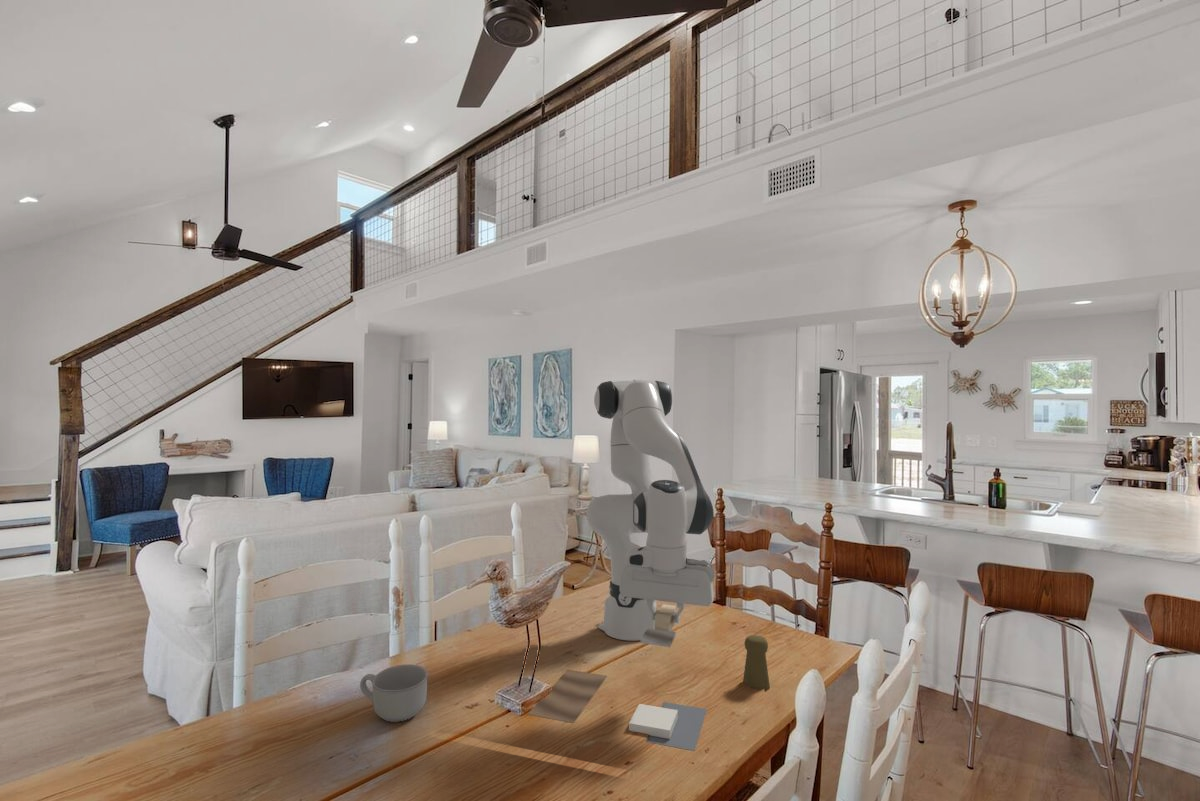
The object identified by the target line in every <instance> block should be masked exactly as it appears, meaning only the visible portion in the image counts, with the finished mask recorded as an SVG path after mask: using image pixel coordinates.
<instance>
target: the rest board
mask: <svg viewBox="0 0 1200 801" xmlns="http://www.w3.org/2000/svg"><path fill="white" fill-rule="evenodd" d="M607 677H608V675H603V674H598V673H592V672H585V671H580V670H573V669H567V670H565V671H564V673H563V674H562V675H561V676H560V677H559V678H558V680H557V681H556V682H555V683H554V684H553V685H552V686H551V687H552V690H551V693H550V694H549V695H547V696H546V697H545V698H543V699H542V698H541V699H540V700H538V702H537V703H536V704H535V705H534V707H532V709H531V710H530V711H529V712H527V715H528V716H534V717H539V718H544V719H545V718H546V719H549V720H553V721H554V720H555V721H559V722H560V721H561V722H566V723H571V724H574V723H575V722H576V721H577V719H578V718H579V716H580V715H581V714H582V713H583V711H584V709H585V708H586V707H587V706H588V704H589V702H590V701H591V700H592V698H593V697H594V696H595V694H596V693H597V691H598V690H599V689H600V687H601V686H602V684H603V683H604V681H605V680H606V678H607Z"/></svg>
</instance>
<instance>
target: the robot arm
mask: <svg viewBox="0 0 1200 801" xmlns="http://www.w3.org/2000/svg"><path fill="white" fill-rule="evenodd" d="M593 399H594V400H593V401H594V402H593V404H594V406H595V407H594V408H595V409H596V412H597V414H598V415H599V416H600V417H601V418H603V419H608V420H612V421H611V429H610V471H611V473H612V474H613V476H614V477H615V478H616V479H617V480H619V481H621V482H623V483H625V484H627V485H628V486H629V487H630V490H631V493H630V494H628V493H627V494H625V493H624V494H623V493H622V494H605V495H600V496H596V497H593V498H592V499H591V500H590V501H589V503H588V505H587V508H586V513H585V514H586V515H585V516H586V520H587V523H588V526H589V527H590V529H591V530H592V531H593V532H594V533H596V534H597V535H598V536H600V538H601V539H602V540H603V541H604V543H605V545H606V546H607V549H608V551H609V555H610V556H609V557H610V569H611V570H610V571H611V573H610V574H611V577H610V578H611V580H609V596H608V597H607V598H606V599H605V600H604V606H603V607H604V610H603V621H602V622H601V621H600V623H599V624H598V629H599V630H600V631H603V632H604V633H605V634H606V635H607V636H609V637H611V638H613V639H617V640H621V641H641V638H642V636H643V635H644V633H645V632H646V630H647V629H648V628H649V629H655V615H656V614H657V612H658V611H659V610H658V609H657V601H659V602H665V603H666V602H667V603H675V604H676V609H678V610H677V611H676V612H673V614H672V623H675V624H680V623H681V622H680V621H681V613H682V611H684V609H685V606H686V605H690V606H691V605H692V606H701V607H710V606H711V604H713V602H714V600H715V599H714V598H715V595H714V594H715V593H714V583H713V582H714V580H715V577H716V569H715V567H714V565H713V564H711V563H710V562H709V561H708V560H704V559H703V560H700V559H695V558H694V559H692V558H688V540H687V537H686V534H689V535H699V536H700V535H702V534H703V533H704V532H706V531H707V529H709V528H710V527H711V525H712V524H713V522H714V515H715V514H714V506H713V503H712V500H711V498H710V496H709V495H708V493H707V491H706V490H705V487H704V486H703V484H702V481H701V478H700V476H699V474H698V471H697V468H696V466H695V463H694V461H693V458H692V455H691V453H690V450H689V449H688V446H687V444H686V442H685V440H684V438H683V437H682V436H681V435H680V434H678V433H676V432H675V431H674V429H673V428H672V427H671V425H670V424H669V423H668V421H667V419H666V416H667V415H668V414H669V413H670V412H671V411H672V406H673V403H674V402H673V400H674V399H673V393H672V389H671V387H670V385H669V384H668V383H666V382H665V381H661V380H660V381H658V380H655V381H653V380H643V379H642V380H641V379H632V380H619V381H617V380H616V381H612V380H609V381H608V380H607V381H602V382H601V383H600V384H599V385H598V386H597V387H596V391H595V393H594V398H593ZM650 456H651V457H654V458H657V459H660V460H661V461H664V462H666V463H667V464H669V465H670V466H672V468H673V469H674V471H675V474H676V477H677V480H678V481H674V480H671V479H660V480H655V481H654V478H653V476H652V472H651V467H650ZM643 533H644V534H645V533H646V534H647V538H646V542H645V546H640V545H638V544H637V543H634V542H632V540H631V538H630V536H631V534H643Z"/></svg>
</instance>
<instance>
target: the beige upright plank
mask: <svg viewBox="0 0 1200 801" xmlns="http://www.w3.org/2000/svg"><path fill="white" fill-rule="evenodd" d="M673 612H676V613H677V605H672V604H665V603H662V604H661V606H660V608H659V611H658V612H657V614H656V615H655V629H649V628H648V629H647V630H646V632H645V633H644V635H643V636H642V638H641V640H640V644H645V645H652V646H660V647H666V648H671V646H672V644H673V642H674V641H675V638H676V636H677V632H676V631H672V630H673V628H674V626H675V624H676V623H672V614H673Z"/></svg>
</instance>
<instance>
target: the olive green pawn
mask: <svg viewBox="0 0 1200 801" xmlns="http://www.w3.org/2000/svg"><path fill="white" fill-rule="evenodd" d="M744 648H745V650H746V656H745V664H744V671H743V679H742V683H743V685H744V686H747V687H749V688H752V689H757V690H758V689H760V690H764V692H766V691H769V690H770V688H771V686H770V678H769V670H768V663H767V655H766V653H767V651H768V648H769V643H768V641H767V638H765V637H763V636H761V635H757V634H756V635H755V634H752V635H747V636H746V638H745V639H744Z"/></svg>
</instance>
